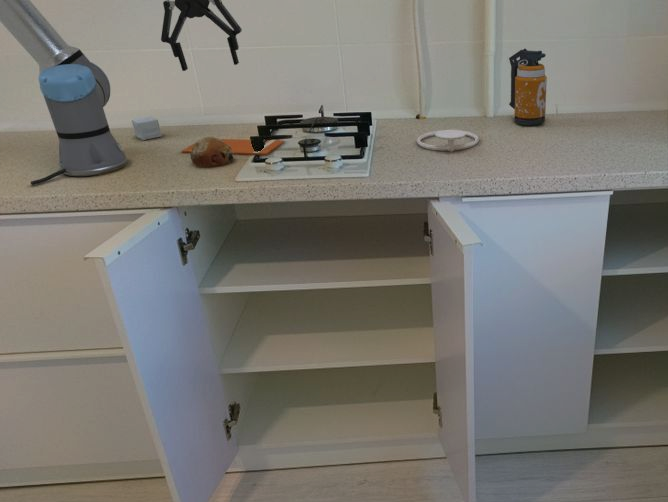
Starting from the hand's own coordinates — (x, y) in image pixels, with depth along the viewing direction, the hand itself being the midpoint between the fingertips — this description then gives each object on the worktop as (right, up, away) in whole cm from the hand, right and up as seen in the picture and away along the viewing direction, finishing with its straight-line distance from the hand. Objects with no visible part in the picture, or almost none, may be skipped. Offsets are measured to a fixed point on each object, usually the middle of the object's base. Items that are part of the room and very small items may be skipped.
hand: (211, 67), depth 177 cm
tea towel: (+4, -20, +5) cm, 21 cm away
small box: (-24, -14, +16) cm, 32 cm away
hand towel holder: (+63, -20, +3) cm, 66 cm away
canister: (+86, -8, +20) cm, 88 cm away
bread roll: (+3, -27, -6) cm, 28 cm away
